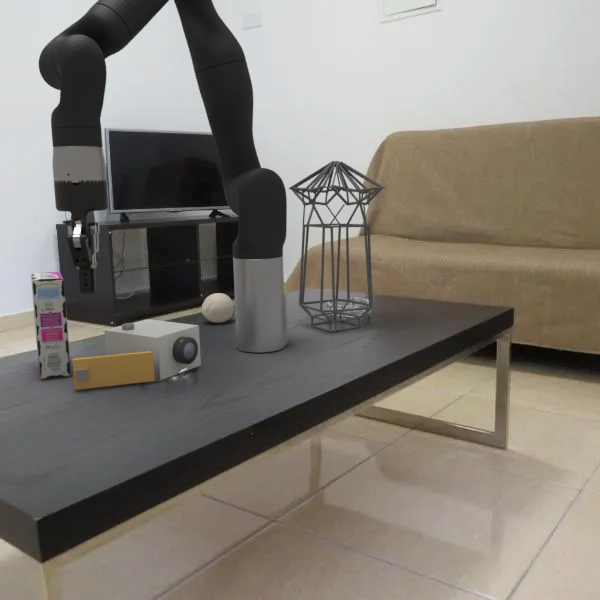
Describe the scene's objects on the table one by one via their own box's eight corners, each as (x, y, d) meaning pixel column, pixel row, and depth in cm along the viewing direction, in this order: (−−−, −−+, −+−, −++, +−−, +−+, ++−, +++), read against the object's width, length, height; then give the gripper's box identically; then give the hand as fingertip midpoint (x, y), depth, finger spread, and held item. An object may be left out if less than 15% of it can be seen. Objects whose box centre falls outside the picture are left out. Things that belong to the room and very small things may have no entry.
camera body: (150, 356, 118) (147, 314, 116) (208, 366, 110) (206, 321, 109) (107, 370, 109) (103, 325, 108) (167, 382, 102) (164, 333, 101)
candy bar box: (73, 376, 106) (64, 277, 103) (40, 381, 104) (30, 280, 102) (68, 360, 116) (60, 270, 114) (38, 364, 115) (29, 272, 112)
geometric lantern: (286, 325, 142) (284, 162, 136) (346, 318, 150) (346, 163, 144) (326, 337, 128) (325, 157, 123) (388, 329, 136) (390, 159, 131)
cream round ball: (195, 323, 146) (194, 294, 145) (221, 318, 151) (220, 290, 150) (213, 327, 141) (212, 297, 140) (240, 322, 146) (238, 292, 145)
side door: (160, 379, 103) (158, 348, 102) (161, 382, 101) (159, 351, 100) (75, 388, 99) (72, 357, 98) (75, 392, 98) (72, 359, 97)
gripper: (64, 179, 103) (72, 287, 106) (42, 178, 90) (53, 301, 93) (112, 179, 104) (119, 285, 107) (98, 177, 91) (106, 299, 94)
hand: (88, 292), depth 100 cm, fingers closed
